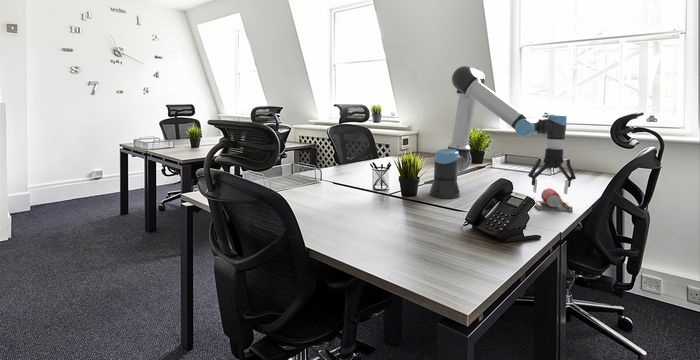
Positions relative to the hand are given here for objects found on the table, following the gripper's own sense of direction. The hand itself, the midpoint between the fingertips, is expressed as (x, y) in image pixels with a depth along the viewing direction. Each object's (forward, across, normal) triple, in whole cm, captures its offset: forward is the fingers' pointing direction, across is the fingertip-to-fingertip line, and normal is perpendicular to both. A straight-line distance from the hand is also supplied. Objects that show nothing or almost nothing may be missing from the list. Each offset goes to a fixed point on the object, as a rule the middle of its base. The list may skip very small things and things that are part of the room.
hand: (549, 193), depth 198 cm
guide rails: (+6, 0, +4) cm, 7 cm away
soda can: (+1, 0, -3) cm, 3 cm away
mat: (+6, 0, +4) cm, 7 cm away
